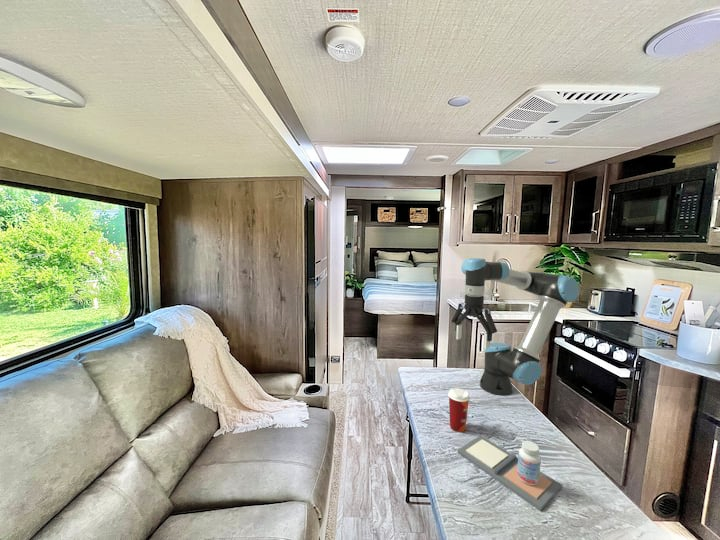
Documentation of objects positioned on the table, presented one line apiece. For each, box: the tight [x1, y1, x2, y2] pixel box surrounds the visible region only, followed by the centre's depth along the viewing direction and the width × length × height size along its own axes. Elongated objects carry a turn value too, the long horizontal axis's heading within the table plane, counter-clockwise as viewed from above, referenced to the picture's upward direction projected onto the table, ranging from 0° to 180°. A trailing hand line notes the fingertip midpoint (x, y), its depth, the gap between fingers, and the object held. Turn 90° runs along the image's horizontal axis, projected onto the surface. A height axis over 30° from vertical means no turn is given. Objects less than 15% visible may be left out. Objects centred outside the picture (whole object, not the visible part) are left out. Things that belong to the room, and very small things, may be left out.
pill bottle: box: [517, 440, 542, 485], centre depth 93 cm, size 6×6×11 cm
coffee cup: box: [447, 387, 471, 433], centre depth 120 cm, size 8×8×15 cm
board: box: [457, 435, 563, 512], centre depth 100 cm, size 14×28×2 cm, turn 35°
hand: (472, 343), depth 128 cm, fingers open, 13 cm apart
